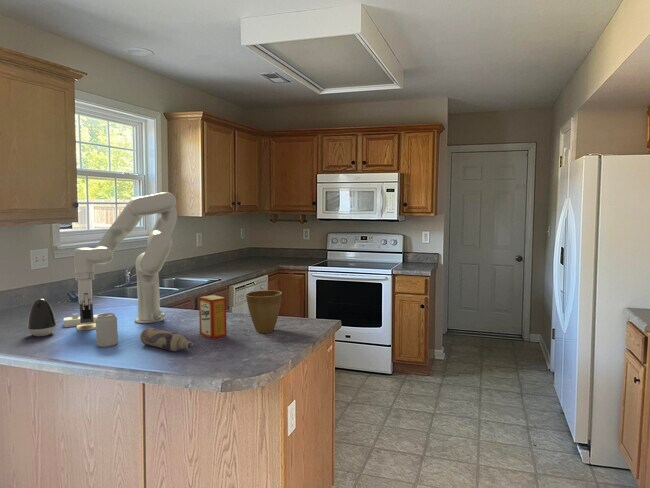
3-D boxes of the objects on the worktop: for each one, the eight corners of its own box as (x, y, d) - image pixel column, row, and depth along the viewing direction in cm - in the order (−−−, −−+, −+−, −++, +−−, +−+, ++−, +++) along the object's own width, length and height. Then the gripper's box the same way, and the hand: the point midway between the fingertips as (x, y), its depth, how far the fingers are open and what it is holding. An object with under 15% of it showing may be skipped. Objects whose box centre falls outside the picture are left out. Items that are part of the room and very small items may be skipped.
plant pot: (267, 324, 219) (267, 288, 218) (289, 330, 208) (288, 292, 207) (239, 330, 209) (238, 293, 207) (260, 337, 198) (260, 297, 197)
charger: (93, 320, 219) (92, 301, 218) (93, 321, 215) (92, 303, 214) (80, 321, 216) (79, 302, 216) (80, 323, 213) (79, 304, 212)
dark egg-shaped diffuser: (24, 339, 198) (22, 301, 197) (32, 332, 208) (30, 297, 207) (52, 337, 201) (50, 300, 200) (59, 330, 211) (57, 295, 210)
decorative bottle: (139, 346, 187) (138, 329, 186) (155, 342, 193) (155, 325, 193) (184, 357, 172) (184, 339, 172) (201, 352, 179) (200, 334, 178)
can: (112, 341, 194) (110, 311, 193) (121, 344, 189) (120, 313, 188) (93, 345, 188) (91, 314, 187) (102, 349, 183) (101, 317, 182)
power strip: (107, 319, 231) (107, 309, 230) (108, 322, 225) (108, 312, 225) (64, 324, 223) (63, 313, 222) (64, 327, 217) (63, 316, 217)
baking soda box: (200, 334, 203) (198, 296, 201) (213, 331, 207) (212, 294, 206) (212, 339, 196) (211, 299, 195) (226, 336, 200) (225, 296, 199)
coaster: (96, 324, 221) (96, 323, 221) (97, 328, 214) (97, 326, 214) (76, 326, 218) (76, 325, 218) (77, 330, 211) (77, 329, 211)
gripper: (75, 274, 220) (77, 315, 221) (75, 279, 205) (77, 322, 207) (93, 273, 223) (95, 313, 225) (95, 278, 209) (97, 320, 210)
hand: (86, 317), depth 216 cm, fingers closed on charger, 4 cm apart
